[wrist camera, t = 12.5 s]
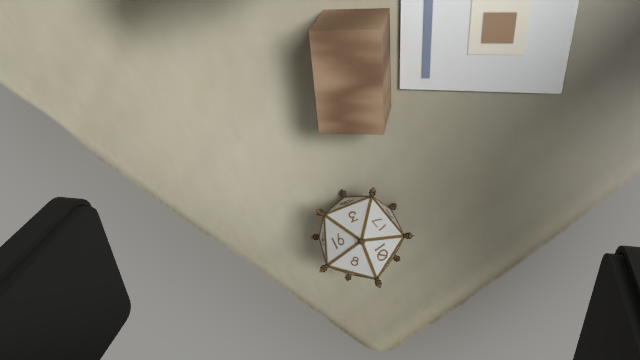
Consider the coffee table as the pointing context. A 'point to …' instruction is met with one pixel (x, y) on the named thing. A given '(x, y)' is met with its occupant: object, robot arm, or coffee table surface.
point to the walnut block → (352, 70)
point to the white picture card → (486, 44)
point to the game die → (360, 236)
